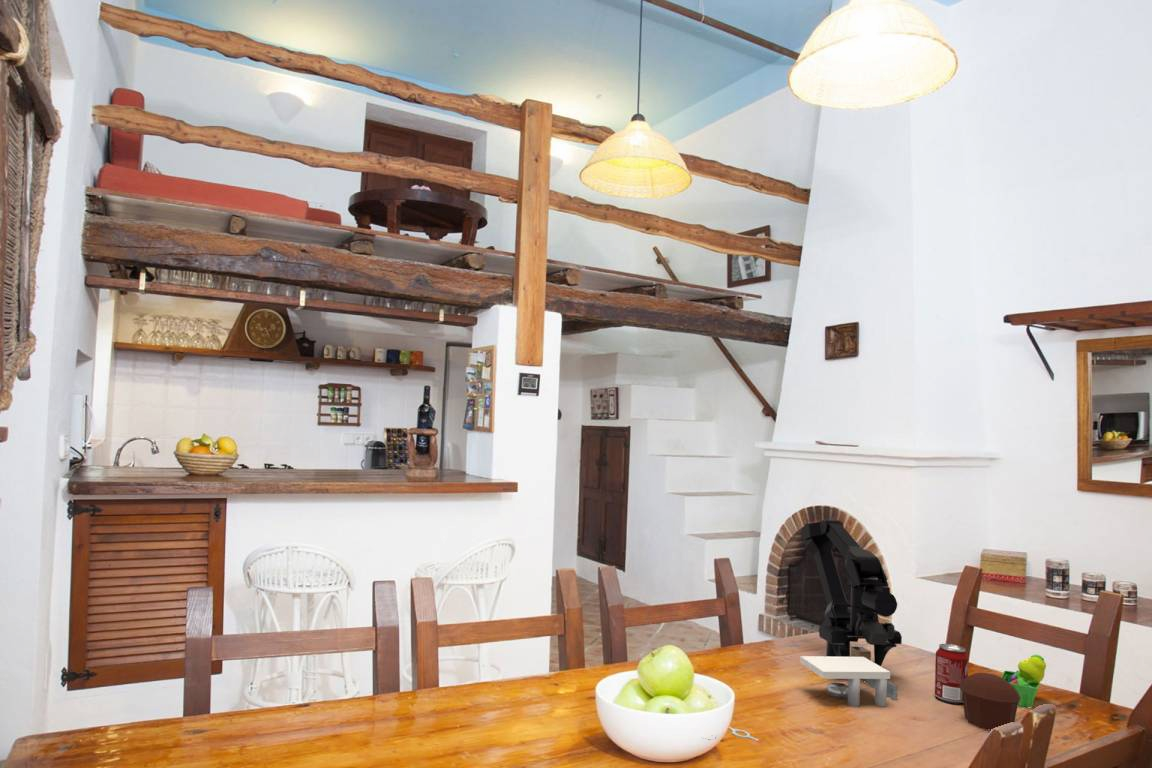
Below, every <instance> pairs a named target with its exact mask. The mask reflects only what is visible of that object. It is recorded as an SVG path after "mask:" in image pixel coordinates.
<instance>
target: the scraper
mask: <svg viewBox="0 0 1152 768" xmlns="http://www.w3.org/2000/svg"><path fill="white" fill-rule="evenodd" d="M850 657H865V658H867V659H868V660H870V661H872V658H871V657H872V651H871V650H869V649H868V648H865V647H864V646H850ZM860 680H863V681H862V682H864V681H865V682H866V683H865V682H864V683H865V684H867V683H868V684H867V685H868V686H870V685H871V686H870V687H872V688H873V687H874V689H875V679H860ZM898 687H899V686H898V685H896V684H895V683H893V682H891V681H889V680H887V694H886V697H888V698H890V699H891V700H893V701H897V700H898Z"/></svg>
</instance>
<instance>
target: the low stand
mask: <svg viewBox="0 0 1152 768" xmlns="http://www.w3.org/2000/svg"><path fill="white" fill-rule="evenodd" d="M799 658H800V659H799V662H800V664H801V665H803V666H804V667H806V668H807V669H809V670H810V671H811V672H813V673H815V674H816V675H817V676H819V677H820V678H822V679H824V680H825V679H827V680H828V679H832V680H833V679H834V680H835V679H836V680H837V679H838V680H839V679H840V680H843V679H845V680H846V679H847V681H848V684H847V685H848V698H847V705H848V706H850V707H855V708H856V707H857V708H858V707H859V706H860V695H861V694H860V692H861V681H860V679H875V688H874V705H875V706H878V707H880V708H881V707H883V708H884V707H887V696H886V694H887V681H888V680H890V679H891V671H889V670H888V669H885V668H884V667H882V665H881V666H879V665H877V664H875V663H874V662H873V661H872V660H871V661H870V660H868V659H867V658H865V657H851V656H850V657H831V656H826V655H825V656H818V655H817V656H812V655H809V656H808V655H807V656H806V655H802V656H801V655H800V657H799Z"/></svg>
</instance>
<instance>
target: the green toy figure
mask: <svg viewBox="0 0 1152 768" xmlns="http://www.w3.org/2000/svg"><path fill="white" fill-rule="evenodd" d="M1046 664H1047V663H1046V662H1045V658H1044V657H1042V656H1041V655H1039V654H1032V655H1031V656H1030V657H1029V658H1026V659H1024V660H1022V661H1020V662H1018V664H1017V668H1018V670H1016V671H1011V670H1004V671H1003V673H1002V675H1001V676H1000V677H1001V678H1003V679H1005V680H1006V681H1007V682H1009V683H1010V684H1011V685H1012V686H1014V687H1015V689H1016V690H1017V692H1018V693H1019V695H1020V697H1021V699H1020V701H1019V702H1018V707H1023V708H1027V707H1033V704H1034V701H1035V697H1036V695H1037V692H1038V689H1039V686H1040V683H1041V682H1042V681H1043V679H1044V678H1045V672H1046V671H1045V670H1046V668H1047V665H1046Z"/></svg>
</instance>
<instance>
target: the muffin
mask: <svg viewBox="0 0 1152 768" xmlns="http://www.w3.org/2000/svg"><path fill="white" fill-rule="evenodd" d="M1001 677H1002V676H998V675H996V674H993V673H988V672H975V673H972V674H968V676H967V677H966V678H965V679H964V680H963V681H962V683H961V684H960V685H959V688H960V690H961V691H962V698H963V702H962V704H963V713H964V718H966V719H967V720H968V721H967V720H966V719H965V720H966V721H967V722H968V723H969V724H970V723H971V724H970V725H972V724H973V725H972V726H976V727H977V728H978V729H982V728H983V730H988V729H990V730H988V731H991V729H993V728H995V727H998V726H1001V725H1004V724H1007V723H1010V722H1014V723H1015V720H1016V715H1017V711H1018V707H1019V706H1018V702H1019V701H1020V699H1021V697H1020V695H1019V693H1018V692H1017V690H1016V689H1015V687H1014V686H1012V685H1011V684H1010V683H1009V682H1007V681H1006V680H1005V679H1003V678H1001Z"/></svg>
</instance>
